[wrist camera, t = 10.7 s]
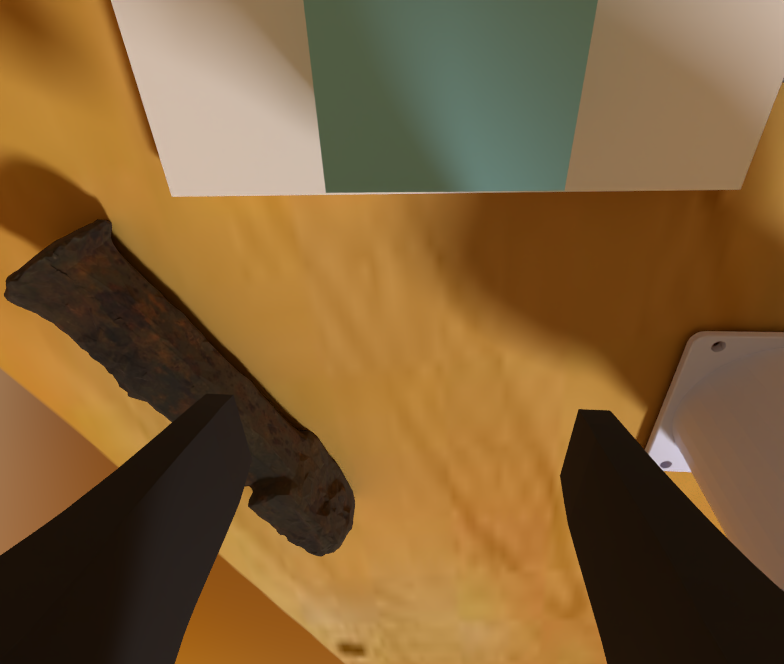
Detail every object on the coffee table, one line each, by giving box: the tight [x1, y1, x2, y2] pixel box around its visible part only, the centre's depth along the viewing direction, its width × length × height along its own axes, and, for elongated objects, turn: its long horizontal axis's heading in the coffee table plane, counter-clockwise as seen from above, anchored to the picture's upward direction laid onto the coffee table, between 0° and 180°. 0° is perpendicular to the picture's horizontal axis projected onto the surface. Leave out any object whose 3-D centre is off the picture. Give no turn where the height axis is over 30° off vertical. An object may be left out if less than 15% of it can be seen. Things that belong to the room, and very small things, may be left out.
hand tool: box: [4, 220, 355, 556], centre depth 21 cm, size 19×4×5 cm, turn 31°
